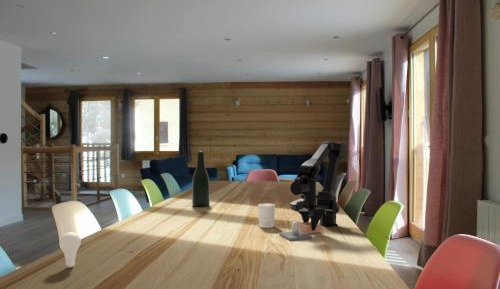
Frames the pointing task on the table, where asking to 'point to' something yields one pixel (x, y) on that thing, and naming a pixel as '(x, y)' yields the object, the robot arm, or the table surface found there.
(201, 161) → the dark green wine bottle
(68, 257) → the lightbulb
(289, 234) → the post plate
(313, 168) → the robot arm
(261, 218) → the white cup
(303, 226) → the ring
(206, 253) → the table surface
